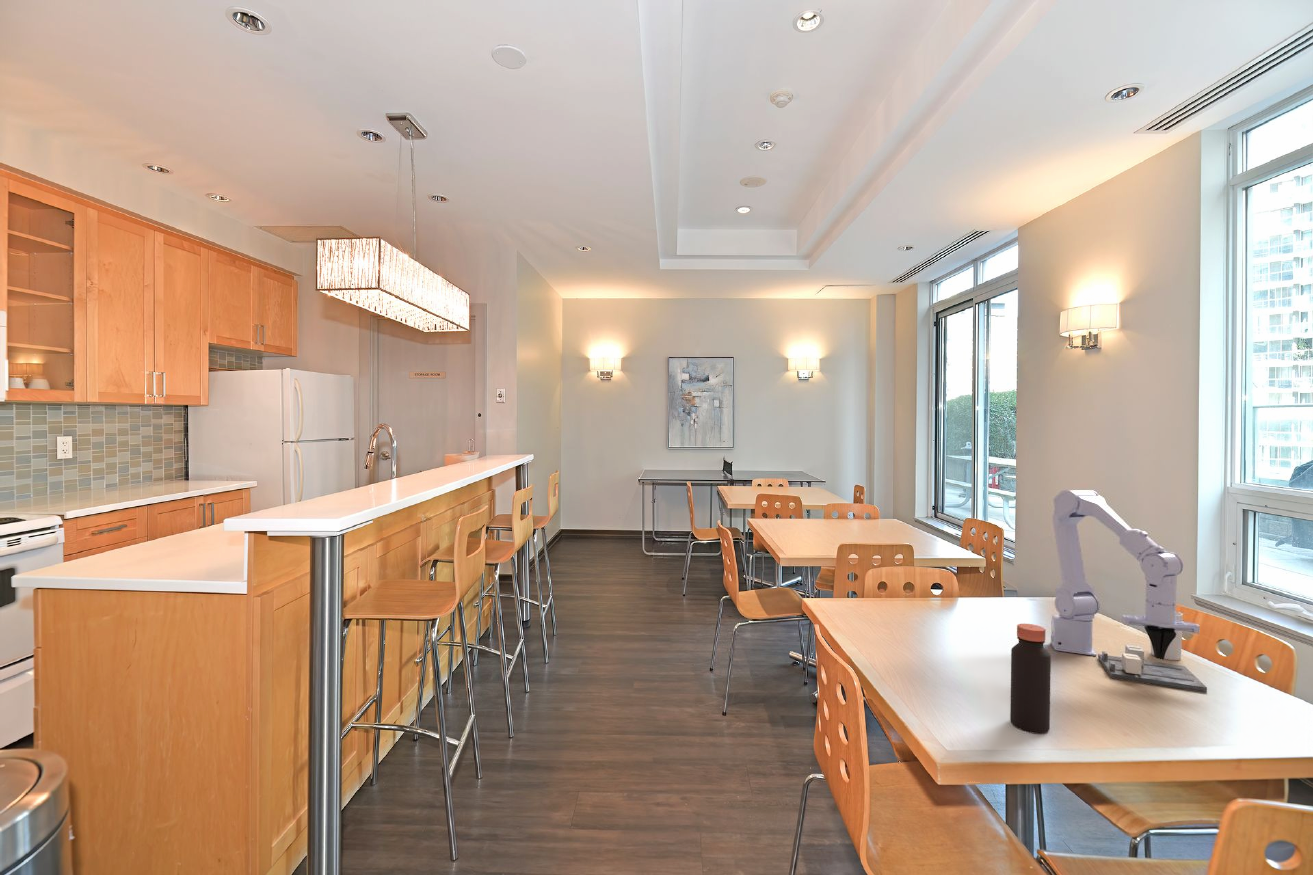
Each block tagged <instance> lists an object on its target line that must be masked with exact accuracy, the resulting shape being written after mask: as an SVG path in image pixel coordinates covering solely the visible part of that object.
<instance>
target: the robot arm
mask: <svg viewBox="0 0 1313 875" xmlns="http://www.w3.org/2000/svg"><path fill="white" fill-rule="evenodd" d="M1052 501H1053V505H1054V510H1053V514H1052V526H1053V529H1054V530H1053V531H1054V538H1055V543H1056V544H1055V545H1056V549H1057V556H1058V562H1059V568H1060V576H1061V582H1060V584H1058V586H1057V588H1056V589H1055V597H1054V598H1055V599H1054V608H1055V609H1056V611H1057V613H1058V614H1059V615H1058V614H1053V615H1052V616H1051V632H1050V634H1051V635H1050V643H1051V645H1052V648H1053V649H1054V651H1058V652H1065V653H1074V654H1079V655H1088V656H1095V657H1096V656H1097V653H1096V651H1095V650H1094V648H1093V631H1094V630H1093V629H1094V628H1093V626H1094V625H1093V624H1094V623H1093V622H1094V621H1093V620H1094V619H1095V615H1097V614H1098V613H1099V611H1100V608H1101V607H1100V606H1101V604H1100V601H1099V599H1098V598H1097V596H1096V593H1095V590H1094V587H1092V585H1091V584H1089V583H1088V582H1087V579H1086V574H1085V569H1084V560H1083V555H1082V549H1081V543H1080V538H1079V537H1080V536H1079V531H1078V524H1079V523H1080V522H1081V521H1082V520H1083V519H1084V518H1085V517H1088V516H1089V517H1093V518H1095V519H1096V520H1098V521H1099V522H1100V523H1101V524H1102V525H1104V527H1106V528H1107V529H1109V530H1110V531H1111V532H1113V534H1115V535H1116V536H1117V537H1118V538H1119V545H1121V546H1122V547H1123V548H1124V549H1125V551H1127V552H1128V553H1129V554H1130V555H1131V556H1133V557H1134V558H1135V559H1136V560H1137V561H1138V562H1139V566H1140V569H1141V571H1142V572H1143V574H1144V580H1145V603H1144V604H1145V606H1144V607H1145V608H1144V610H1145V612H1144V615H1129V614H1128V615H1127V614H1122V616H1121V618H1122V619H1121V622H1122V624H1123V625H1125V626H1130V625H1131V626H1137V627H1144V630H1145V632H1146V633H1147V636H1148V637H1149V641H1150V645H1151V644H1152V647H1153V651H1154V656H1153V657H1154V658H1155V659H1157V660H1165V659H1164V656H1165V653H1166V650H1167V648H1168V646H1169V645H1170V643H1171V642H1172V641H1173V639H1174V638H1175V637H1176V632H1175V630H1177V631H1182V632H1186V633H1193V634H1196V635H1197V634H1198V635H1200V633H1201V632H1200V629H1201V628H1200V627H1201V626H1200V625H1199V624H1198V623H1195V622H1188V621H1183V622H1182V621H1177V620H1175V618H1176V608H1177V581H1178V580H1177V578H1178V575H1180V574H1181V573H1182V572H1183V569H1184V563H1183V560H1182V559H1181V558H1180V557H1179V556H1178V554H1177V553H1175V552H1173V551H1167V550H1165V548H1164V547H1163V546H1160V545H1158V544H1157V543H1156V542H1155V541H1154V540H1153V539H1152V538H1150V537H1149V533H1148V532H1147V531H1145V530H1141V529H1138V528H1132V527H1131V526H1130V525H1128V524H1127V523H1126V522H1125V521H1124V520H1123V519H1122V518H1121V517H1120V516H1119V515H1118V514H1117V513H1116V512H1115V511H1114V510H1113V509H1112V508H1111V507H1110V506H1109V505H1108V504H1107V502H1106V499H1105V498H1104V497H1102V496H1101V495H1100V494H1099V493H1097V491H1095V490H1093V489H1085V490H1084V489H1083V490H1081V489H1079V490H1077V489H1076V490H1070V489H1069V490H1068V489H1065V490H1061V491H1060V492H1059V493H1058V494H1057V495H1056V496H1055V497H1054V498H1053V499H1052Z"/></svg>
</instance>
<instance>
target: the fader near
mask: <svg viewBox="0 0 1313 875" xmlns="http://www.w3.org/2000/svg"><path fill="white" fill-rule="evenodd" d="M1121 657H1122V668H1123V669H1124V670H1125V672H1126V673H1133V674H1140V675H1141V667H1142V660H1141V659H1140V658H1139V657H1138V655H1134V654H1126V653H1125V652H1121Z"/></svg>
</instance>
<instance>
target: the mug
mask: <svg viewBox="0 0 1313 875" xmlns="http://www.w3.org/2000/svg"><path fill="white" fill-rule="evenodd" d="M1183 617H1184V613H1182V612H1179V611H1176V618H1175V620H1177V621H1182V622H1184V621H1183V620H1184V619H1183ZM1175 632H1176V637H1175V638H1174V639H1173V641H1172V642H1171V643H1170V645H1169V646H1168V648H1167V650H1166V653H1165V656H1164V660H1167V659H1168V660H1169V661H1179V660H1181V659H1182V644H1183V642H1182V641H1183V631H1177V630H1175ZM1150 654H1151V655H1152V656H1153V657H1155V656H1154V651H1153V647H1152V644H1151V643H1150Z"/></svg>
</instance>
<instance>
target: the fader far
mask: <svg viewBox="0 0 1313 875" xmlns="http://www.w3.org/2000/svg"><path fill="white" fill-rule="evenodd" d="M1124 646H1125V648H1124V650H1125V652H1124V653H1126V654H1134V655H1138V657H1139V658H1140V659H1141V660H1142V665H1144V660H1145V651H1144V650H1143V649H1142V647H1141V646H1137V645H1131V644H1130V645H1129V644H1125V645H1124Z"/></svg>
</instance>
